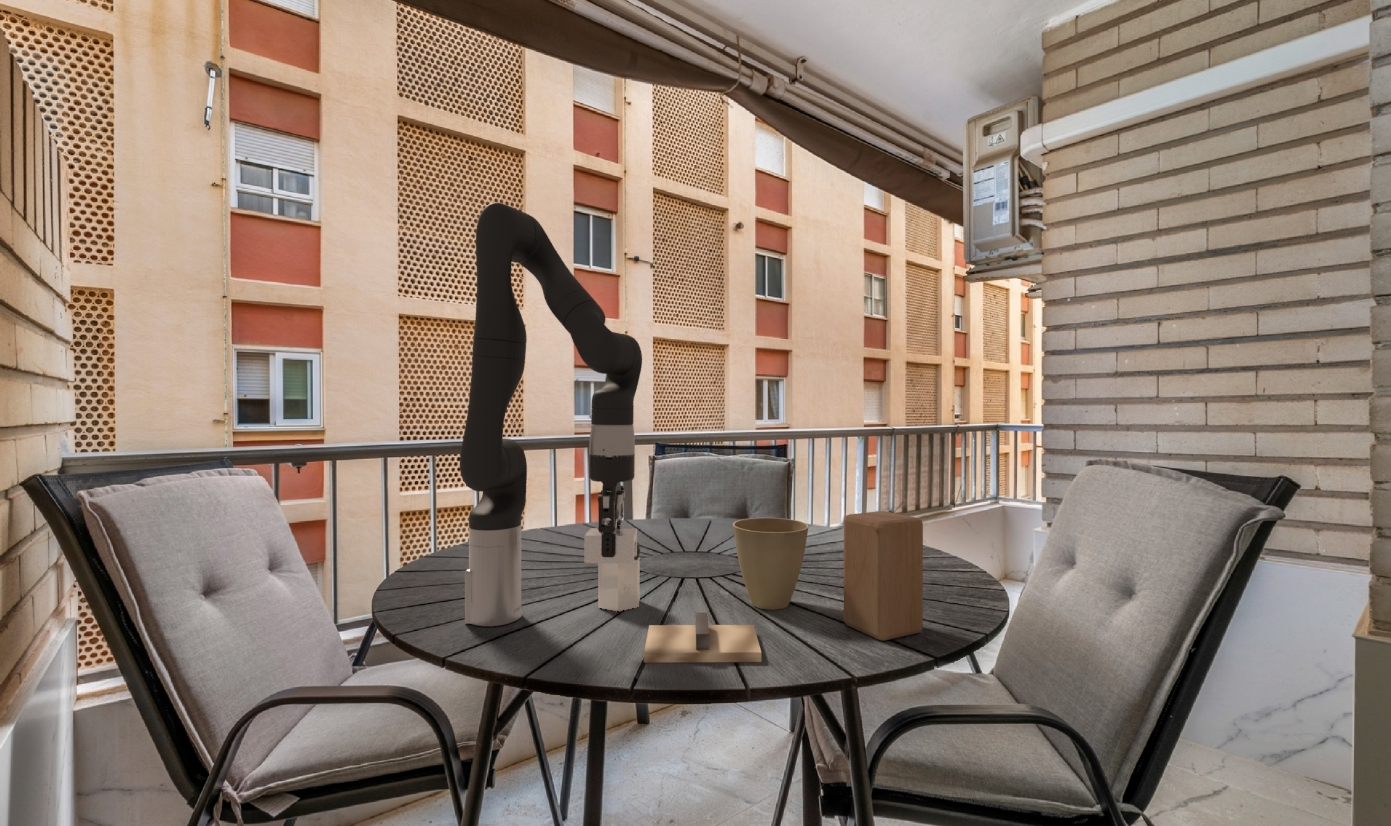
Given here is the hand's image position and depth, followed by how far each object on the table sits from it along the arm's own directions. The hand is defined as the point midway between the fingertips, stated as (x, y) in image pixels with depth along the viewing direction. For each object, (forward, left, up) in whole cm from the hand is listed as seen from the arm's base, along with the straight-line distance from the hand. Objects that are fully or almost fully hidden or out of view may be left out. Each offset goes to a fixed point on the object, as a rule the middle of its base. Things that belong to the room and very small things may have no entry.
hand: (611, 551), depth 103 cm
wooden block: (+47, +5, -15) cm, 50 cm away
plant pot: (+29, +19, -15) cm, 38 cm away
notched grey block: (0, 0, -1) cm, 1 cm away
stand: (+15, -3, -15) cm, 22 cm away
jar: (-1, +19, -15) cm, 24 cm away
